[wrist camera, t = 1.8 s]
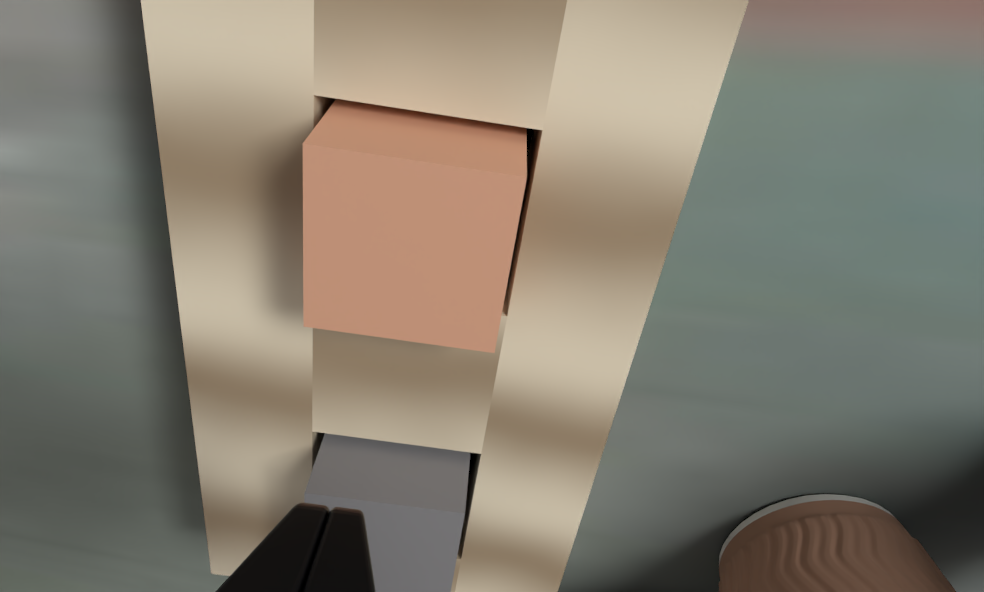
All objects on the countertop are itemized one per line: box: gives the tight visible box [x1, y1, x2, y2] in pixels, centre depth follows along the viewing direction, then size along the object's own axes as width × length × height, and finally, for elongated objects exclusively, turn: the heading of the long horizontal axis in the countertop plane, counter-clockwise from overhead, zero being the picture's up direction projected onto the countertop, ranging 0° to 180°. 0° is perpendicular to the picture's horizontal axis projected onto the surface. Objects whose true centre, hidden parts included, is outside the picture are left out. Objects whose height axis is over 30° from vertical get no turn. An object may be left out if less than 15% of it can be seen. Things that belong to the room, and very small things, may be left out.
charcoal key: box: [304, 433, 470, 592], centre depth 22 cm, size 4×4×4 cm
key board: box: [141, 0, 749, 592], centre depth 18 cm, size 30×12×3 cm, turn 172°
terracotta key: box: [303, 99, 527, 353], centre depth 16 cm, size 4×4×4 cm
